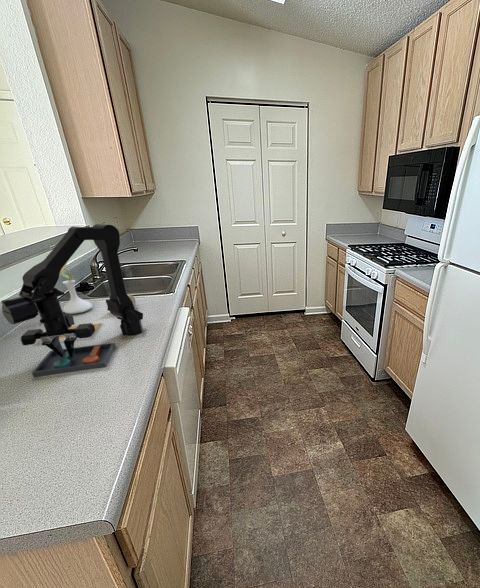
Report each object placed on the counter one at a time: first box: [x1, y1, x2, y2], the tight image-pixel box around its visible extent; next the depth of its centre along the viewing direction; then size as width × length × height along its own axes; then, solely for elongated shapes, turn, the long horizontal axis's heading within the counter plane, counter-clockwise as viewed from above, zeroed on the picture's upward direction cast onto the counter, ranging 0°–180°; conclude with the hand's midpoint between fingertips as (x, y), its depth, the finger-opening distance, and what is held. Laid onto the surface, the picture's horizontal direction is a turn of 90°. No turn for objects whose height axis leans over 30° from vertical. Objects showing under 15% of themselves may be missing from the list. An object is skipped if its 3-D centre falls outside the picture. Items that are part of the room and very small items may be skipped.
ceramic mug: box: [127, 294, 137, 309], centre depth 148 cm, size 11×8×8 cm
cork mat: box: [38, 323, 102, 342], centre depth 127 cm, size 18×14×1 cm
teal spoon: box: [53, 351, 75, 368], centre depth 105 cm, size 4×11×2 cm, turn 16°
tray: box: [31, 342, 117, 378], centre depth 107 cm, size 20×15×2 cm
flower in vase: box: [59, 262, 93, 315], centre depth 143 cm, size 13×11×25 cm
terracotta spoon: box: [82, 346, 102, 364], centre depth 107 cm, size 4×11×2 cm, turn 16°
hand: (68, 357), depth 107 cm, fingers closed on teal spoon, 2 cm apart
